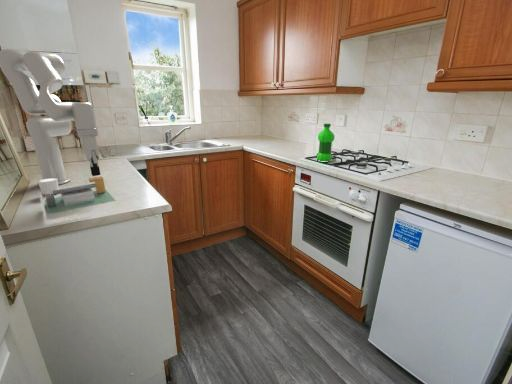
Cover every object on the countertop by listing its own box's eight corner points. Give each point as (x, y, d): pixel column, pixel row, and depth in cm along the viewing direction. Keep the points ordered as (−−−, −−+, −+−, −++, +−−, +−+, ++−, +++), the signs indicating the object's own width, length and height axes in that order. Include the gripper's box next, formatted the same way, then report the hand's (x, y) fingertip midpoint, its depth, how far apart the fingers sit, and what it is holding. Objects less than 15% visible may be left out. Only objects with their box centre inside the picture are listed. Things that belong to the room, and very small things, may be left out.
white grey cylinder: (64, 192, 124) (61, 177, 121) (54, 198, 117) (50, 182, 115) (48, 192, 123) (44, 177, 121) (37, 198, 117) (33, 182, 115)
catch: (91, 192, 119) (88, 178, 117) (104, 190, 122) (101, 176, 120) (92, 194, 116) (89, 180, 114) (105, 191, 119) (103, 178, 117)
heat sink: (47, 202, 108) (44, 192, 107) (90, 194, 117) (89, 185, 116) (48, 210, 101) (46, 199, 99) (95, 201, 110) (93, 191, 108)
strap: (53, 195, 103) (52, 192, 103) (52, 193, 106) (52, 190, 106) (97, 187, 112) (96, 184, 111) (95, 185, 114) (95, 182, 114)
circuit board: (45, 203, 111) (44, 199, 111) (106, 192, 124) (105, 189, 124) (48, 217, 98) (47, 213, 98) (116, 204, 111) (115, 200, 110)
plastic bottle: (330, 160, 191) (333, 123, 183) (332, 164, 181) (336, 124, 173) (315, 160, 191) (318, 123, 183) (317, 163, 182) (320, 124, 173)
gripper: (75, 132, 121) (83, 173, 126) (80, 135, 110) (89, 180, 115) (94, 131, 125) (102, 170, 131) (101, 133, 114) (109, 176, 120)
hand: (96, 175), depth 123 cm, fingers closed
